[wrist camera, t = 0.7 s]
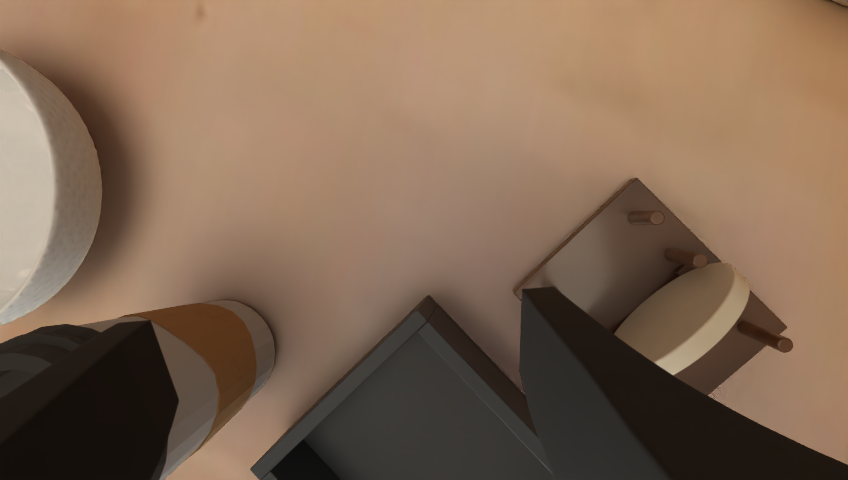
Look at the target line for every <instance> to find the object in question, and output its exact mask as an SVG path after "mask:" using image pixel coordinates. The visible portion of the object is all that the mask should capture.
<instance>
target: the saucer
mask: <svg viewBox="0 0 848 480" xmlns="http://www.w3.org/2000/svg"><path fill="white" fill-rule="evenodd" d="M749 295H750V287H749V283H748V281H747V279H746V278H745V277H744V276H743V275H742V274H741V273H740V272H739V271H738V270H737V269H736V268H735V267H733V266H732V265H730V264H728V263H722V262H719V263H711V264H707V265H706V266H705V267H703V268H696V269H693V270H691V271H689V272H687V273H685V274H683V275H681V276H679V277H678V278H676V279H674V280H673V281H671V282H669V283H668V284H666V285H665V286H663V287H662V288H661V289H659V290H658V291H656V292H655V293H654V294H653V295H651V296H650V297H649V298H648V299H646V300H645V301H644V302H643V303H642V304H641V305H640V306H638V307H637V308H636V309H635V310H634V311H633V312H632V313H631V314H630V315H629V316H628V317H627V318H626V320H625V321H624V322H623V323H622V324H621V325H620V327H619V328H618V329H617V330H616V332H615V333H614V335H616V336H617V337H618V338H620V339H621V340H622V341H624V342H625V343H626V344H628V345H629V346H631V347H632V348H633V349H635V350H636V351H638V352H639V353H641V354H642V355H643V356H645V357H646V358H648V359H649V360H651V361H652V362H654V363H655V364H657V365H658V366H660V367H661V368H663V369H664V370H666V371H667V372H669V373H670V374H672V375H674V374H676V373H678V372H680V371H681V370H683V369H685V368H686V367H688V366H689V365H691V364H692V363H693V362H695V361H696V360H698V359H699V358H700V357H702V356H703V355H704V354H705V353H707V352H708V351H709V350H710V349H711V348H712V347H713V346H714V345H716V344H717V343H718V342H719V341H720V340H721V339H722V338H723V337H724V336H725V335H726V334H727V332H728V331H729V330H730V329H731V328H732V326H733V325H734V324H735V323H736V321H737V320H738V318H739V317H740V315H741V314H742V312H743V310H744V309H745V306H746V304H747V302H748V298H749Z"/></svg>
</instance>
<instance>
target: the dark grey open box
mask: <svg viewBox="0 0 848 480" xmlns="http://www.w3.org/2000/svg"><path fill="white" fill-rule="evenodd" d="M250 470H251V471H252V472H253V473H254V474H255V475H256V477H257V478H258V479H259V480H555V479H554V476H553V474H552V471H551V468H550V466H549V463H548V461H547V458H546V455H545V453H544V450H543V448H542V445H541V442H540V440H539V437H538V434H537V432H536V429H535V426H534V424H533V421H532V418H531V415H530V411H529V408H528V404H527V400H526V396H525V395H524V394H523V393H522V392H521V391H520V390H519V389H518V387H517V386H516V385H515V384H514V383H513V382H512V381H511V380H510V379H509V378H508V377H507V376H506V375H505V374H504V373H503V372H502V371H501V370H500V369H499V368H498V367H497V366H496V364H495V363H494V362H493V361H492V360H491V359H490V358H489V357H488V356H487V355H486V354H485V353H484V352H483V351H482V350H481V349H480V348H479V347H478V346H477V345H476V344H475V343H474V341H473V340H472V339H471V338H470V337H469V336H468V335H467V334H466V333H465V332H464V331H463V330H462V329H461V328H460V327H459V326H458V325H457V324H456V323H455V322H454V321H453V320H452V318H451V317H450V316H449V315H448V314H447V313H446V312H445V311H444V310H443V309H442V308H441V307H440V306H439V305H438V304H437V303H436V302H435V301H434V300H433V299H432V298H431V297H430V296H429V295H428V296H427V297H426V298H425V299H424V300H423V301H422V302H421V303H420V304H418V305H417V306H416V307H415V308H414V309H413V310H412V311H411V312H410V313H409V314H408V315H407V316H406V317H405V318H404V319H403V320H402V321H401V322H400V323H399V324H398V325H397V326H396V327H395V328H393V329H392V330H391V331H390V332H389V333H388V334H387V335H386V336H385V337H384V338H383V339H382V340H381V341H380V342H379V343H378V344H377V345H376V346H375V347H374V348H373V349H372V350H371V351H369V352H368V353H367V354H366V355H365V356H364V357H363V358H362V359H361V360H360V361H359V362H358V363H357V364H356V365H355V366H354V367H353V368H352V369H351V370H350V371H349V372H348V373H347V374H345V375H344V376H343V377H342V378H341V379H340V380H339V381H338V382H337V383H336V384H335V385H334V386H333V387H332V388H331V389H330V390H329V391H328V392H327V393H326V394H325V395H324V396H323V397H322V398H320V399H319V400H318V401H317V402H316V403H315V404H314V405H313V406H312V407H311V408H310V409H309V410H308V411H307V412H306V413H305V414H304V415H303V416H302V417H301V418H300V419H299V420H298V421H296V422H295V423H294V424H293V425H292V426H291V427H290V428H289V429H288V430H287V431H286V432H285V433H284V434H283V435H282V436H281V437H280V438H279V439H278V440H277V442H276V443H275V444H274V445H273V446H272V447H271V448H270V449H269V450H268V451H267V452H266V453H265V454H264V455H263V456H262V457H261V458H260V459H259V460H258V461H257V462H256V463H255V464H254V466H253V467H252V468H251V469H250Z"/></svg>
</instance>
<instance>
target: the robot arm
mask: <svg viewBox="0 0 848 480" xmlns="http://www.w3.org/2000/svg"><path fill="white" fill-rule="evenodd" d="M519 371H520V375H521V379H522V384H523V388H524V392H525V396H526V400H527V404H528V408H529V411H530V415H531V418H532V421H533V424H534V426H535V429H536V432H537V434H538V437H539V440H540V442H541V445H542V448H543V450H544V453H545V455H546V458H547V461H548V463H549V466H550V468H551V471H552V474H553V476H554V479H555V480H848V465H847V464H844V463H842V462H840V461H838V460H835V459H833V458H831V457H828V456H826V455H824V454H822V453H819V452H817V451H815V450H813V449H810V448H808V447H806V446H804V445H802V444H800V443H798V442H796V441H794V440H791V439H789V438H787V437H785V436H783V435H781V434H779V433H777V432H775V431H773V430H771V429H769V428H766V427H764V426H762V425H760V424H758V423H756V422H754V421H753V420H751V419H749V418H747V417H745V416H743V415H741V414H739V413H737V412H735V411H733V410H732V409H730V408H728V407H726V406H725V405H723V404H721V403H719V402H717V401H716V400H714V399H712V398H710V397H709V396H707V395H705V394H703V393H702V392H700V391H698V390H696V389H695V388H693V387H691V386H690V385H688V384H686V383H685V382H683V381H681V380H680V379H678V378H677V377H675V376H673V375H672V374H670V373H669V372H667V371H666V370H664V369H663V368H661V367H660V366H658V365H657V364H655V363H654V362H652V361H651V360H649V359H648V358H646V357H645V356H643V355H642V354H641V353H639V352H638V351H636V350H635V349H633V348H632V347H631V346H629V345H628V344H626V343H625V342H624V341H622V340H621V339H620V338H618V337H617V336H616V335H614V334H613V333H612V332H610V331H609V330H608V329H606V328H605V327H604V326H602V325H601V324H600V323H599V322H597V321H596V320H595V319H593V318H592V317H591V316H590V315H588V314H587V313H586V312H585V311H583V310H582V309H581V308H580V307H578V306H577V305H576V304H575V303H573V302H572V301H571V300H570V299H568V298H567V297H566V296H565V295H563V294H562V293H561V292H559V291H558V290H557V289H555V288H554V287H542V288H530V289H522V306H521V337H520V369H519ZM178 404H179V398H178V395H177V392H176V390H175V387H174V384H173V381H172V379H171V376H170V373H169V370H168V367H167V365H166V362H165V359H164V356H163V353H162V351H161V348H160V345H159V342H158V339H157V337H156V334H155V331H154V328H153V325H152V323H151V320H144V321H132V322H120V323H117V324H115V325H113V326H111V327H110V328H108V329H106V330H104V331H103V332H101V333H99V334H98V335H96V336H94V337H93V338H91V339H90V340H88V341H87V342H85V343H83V344H82V345H80V346H79V347H77V348H76V349H74V350H73V351H71V352H70V353H68V354H67V355H65V356H64V357H62V358H61V359H59V360H58V361H56V362H55V363H53V364H52V365H50V366H49V367H47V368H46V369H44V370H43V371H41V372H40V373H38V374H37V375H35V376H34V377H32V378H30V379H29V380H27V381H26V382H24V383H23V384H21V385H20V386H18V387H17V388H15V389H14V390H12V391H11V392H9V393H8V394H6V395H5V396H3V397H2V398H0V480H151V478H152V476H153V474H154V472H155V469H156V467H157V465H158V463H159V461H160V458H161V456H162V454H163V452H164V449H165V446H166V443H167V440H168V437H169V434H170V431H171V428H172V424H173V421H174V418H175V414H176V411H177V407H178Z"/></svg>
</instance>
